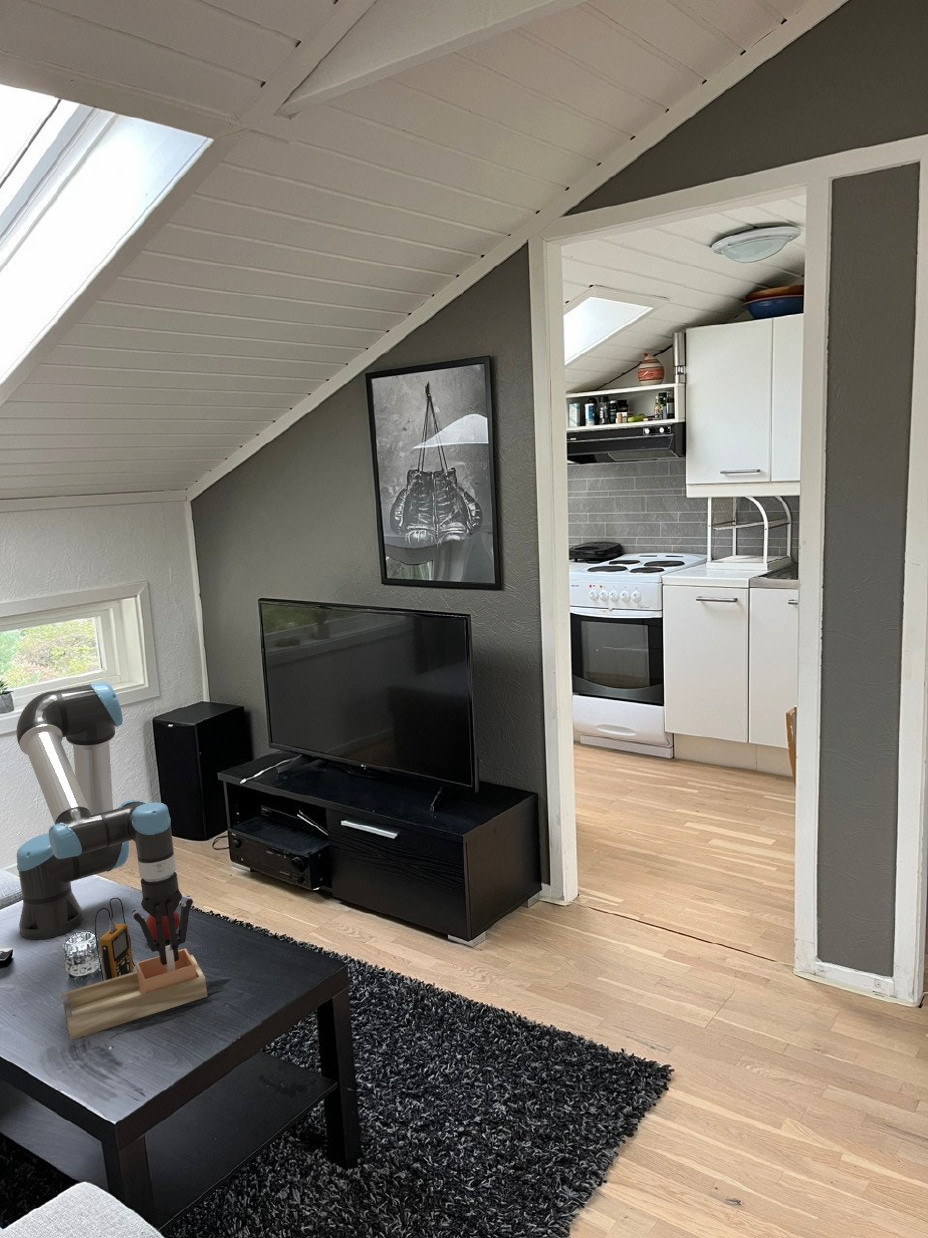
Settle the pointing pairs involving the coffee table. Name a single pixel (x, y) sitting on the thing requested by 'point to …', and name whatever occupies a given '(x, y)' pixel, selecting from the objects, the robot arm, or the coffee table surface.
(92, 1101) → the coffee table surface
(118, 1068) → the coffee table surface
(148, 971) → the box
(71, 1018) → the bay
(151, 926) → the apple
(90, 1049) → the coffee table surface
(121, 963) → the multimeter
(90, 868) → the robot arm
